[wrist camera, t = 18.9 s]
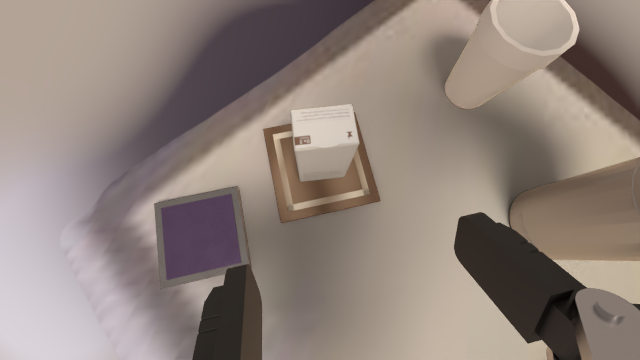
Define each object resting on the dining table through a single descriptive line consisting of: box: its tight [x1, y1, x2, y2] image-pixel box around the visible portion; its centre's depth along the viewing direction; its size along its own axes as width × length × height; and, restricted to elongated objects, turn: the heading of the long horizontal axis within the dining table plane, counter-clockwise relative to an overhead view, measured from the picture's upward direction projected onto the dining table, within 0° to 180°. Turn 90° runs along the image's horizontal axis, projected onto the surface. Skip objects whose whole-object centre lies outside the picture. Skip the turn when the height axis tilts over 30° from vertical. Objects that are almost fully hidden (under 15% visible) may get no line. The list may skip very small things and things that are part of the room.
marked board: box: [263, 112, 380, 223], centre depth 37 cm, size 13×13×1 cm
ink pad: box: [154, 187, 251, 289], centre depth 33 cm, size 10×10×1 cm
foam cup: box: [445, 0, 579, 109], centre depth 35 cm, size 10×9×13 cm
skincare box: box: [290, 104, 359, 182], centre depth 30 cm, size 6×4×12 cm
